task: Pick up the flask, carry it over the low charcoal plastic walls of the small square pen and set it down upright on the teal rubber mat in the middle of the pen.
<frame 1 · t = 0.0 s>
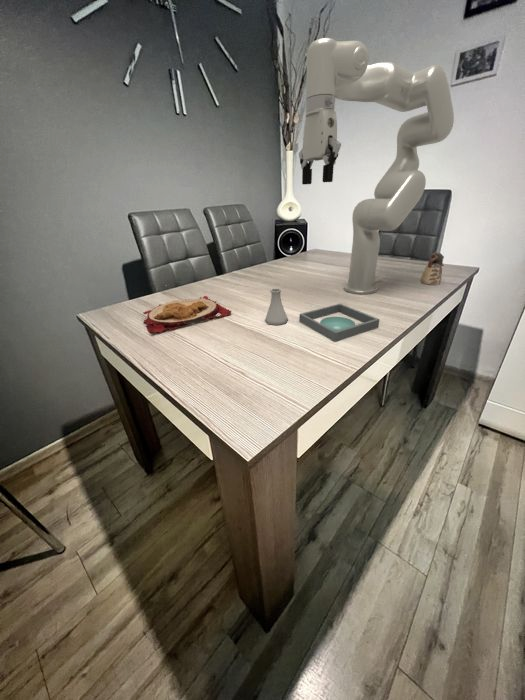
hand: (316, 183, 81), 37 cm above the table, tool pointing down, fingers open, 9 cm apart
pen: (337, 324, 81), on the table
flask: (276, 321, 85), on the table
plate with food: (183, 315, 95), on the table
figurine: (430, 283, 112), on the table
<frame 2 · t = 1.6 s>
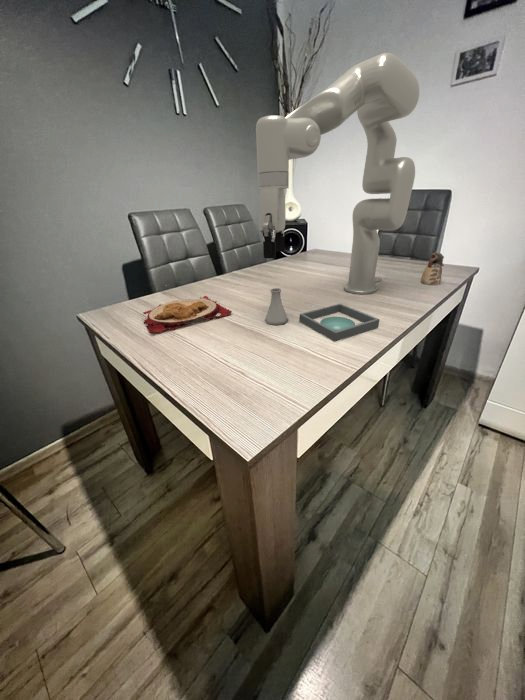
hand: (274, 254, 75), 20 cm above the table, tool pointing down, fingers open, 9 cm apart
nothing on the table moved.
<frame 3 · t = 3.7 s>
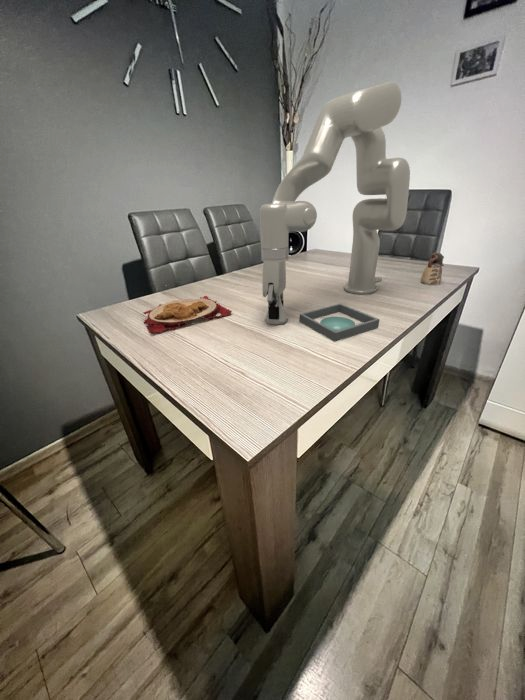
hand: (276, 314, 84), 2 cm above the table, tool pointing down, fingers closed on flask, 4 cm apart
flask: (276, 321, 85), on the table, touching gripper
everything else where it was.
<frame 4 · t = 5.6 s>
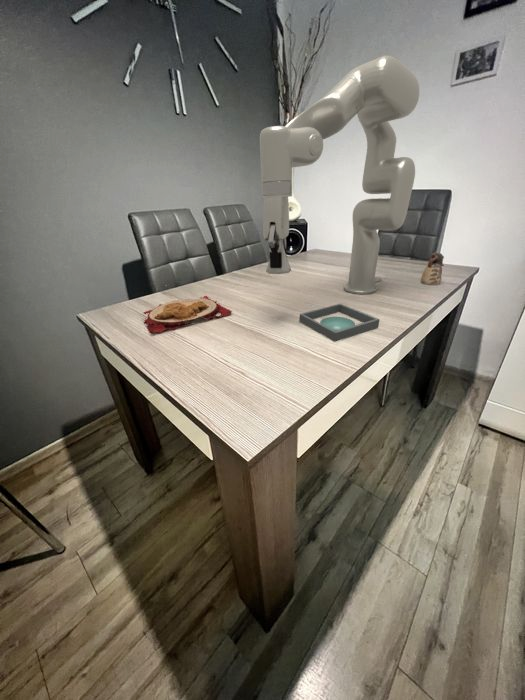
hand: (278, 264, 77), 17 cm above the table, tool pointing down, fingers closed on flask, 4 cm apart
flask: (278, 272, 78), point 15 cm above the table, touching gripper
everything else where it was.
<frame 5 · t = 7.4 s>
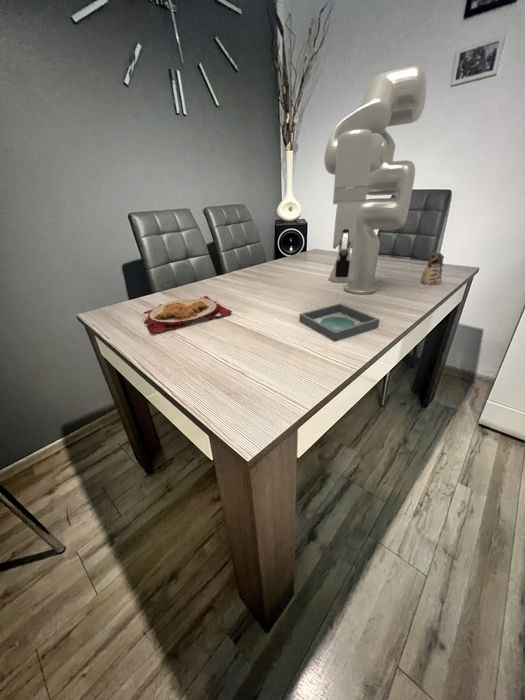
hand: (342, 273, 73), 15 cm above the table, tool pointing down, fingers closed on flask, 4 cm apart
flask: (341, 281, 74), point 13 cm above the table, touching gripper
everything else where it was.
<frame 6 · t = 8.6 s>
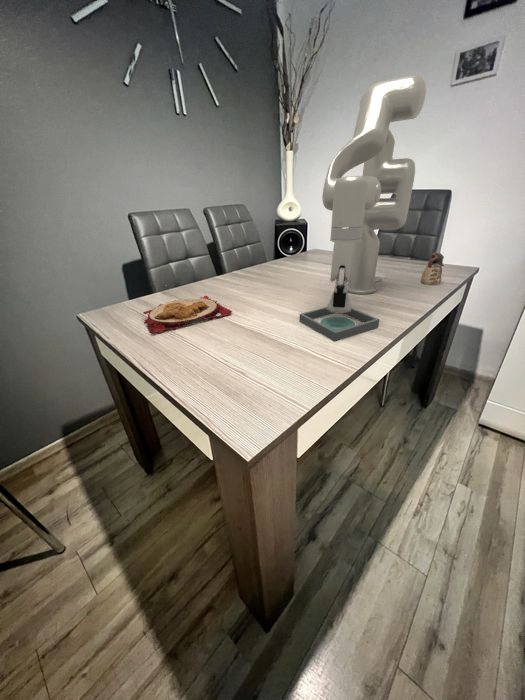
hand: (339, 302, 77), 7 cm above the table, tool pointing down, fingers closed on flask, 4 cm apart
flask: (338, 310, 78), point 5 cm above the table, touching gripper
everything else where it was.
when the fingers open (3 cm above the table, at t = 9.7 s): flask stays where it is, resting on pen.
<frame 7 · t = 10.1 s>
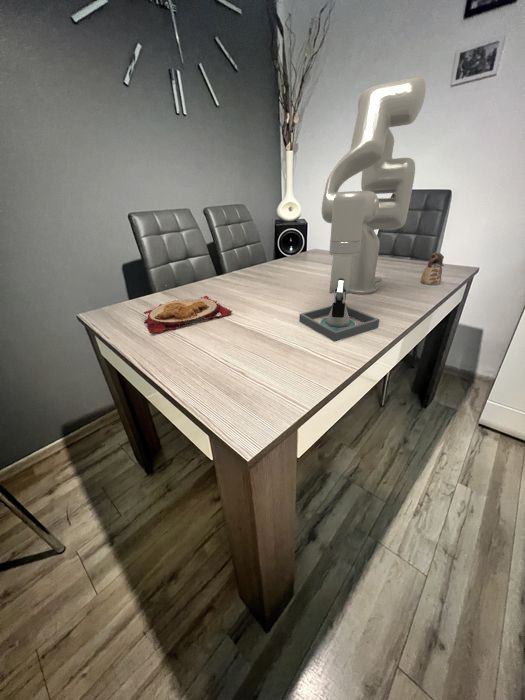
hand: (338, 310, 79), 4 cm above the table, tool pointing down, fingers open, 9 cm apart
flask: (337, 323, 81), resting on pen
everything else where it was.
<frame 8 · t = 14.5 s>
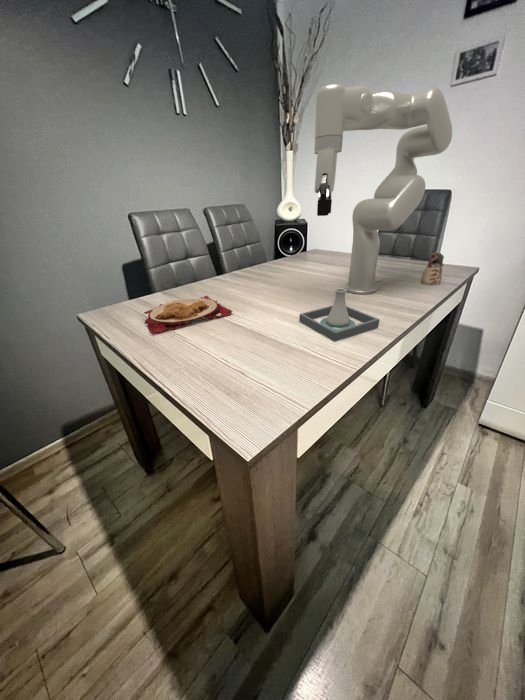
hand: (324, 214, 84), 28 cm above the table, tool pointing down, fingers open, 9 cm apart
nothing on the table moved.
at the end: flask 0.2 cm off-centre on the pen, point 0.2 cm above the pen's base; flask tilted 0°; the gripper is holding nothing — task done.
